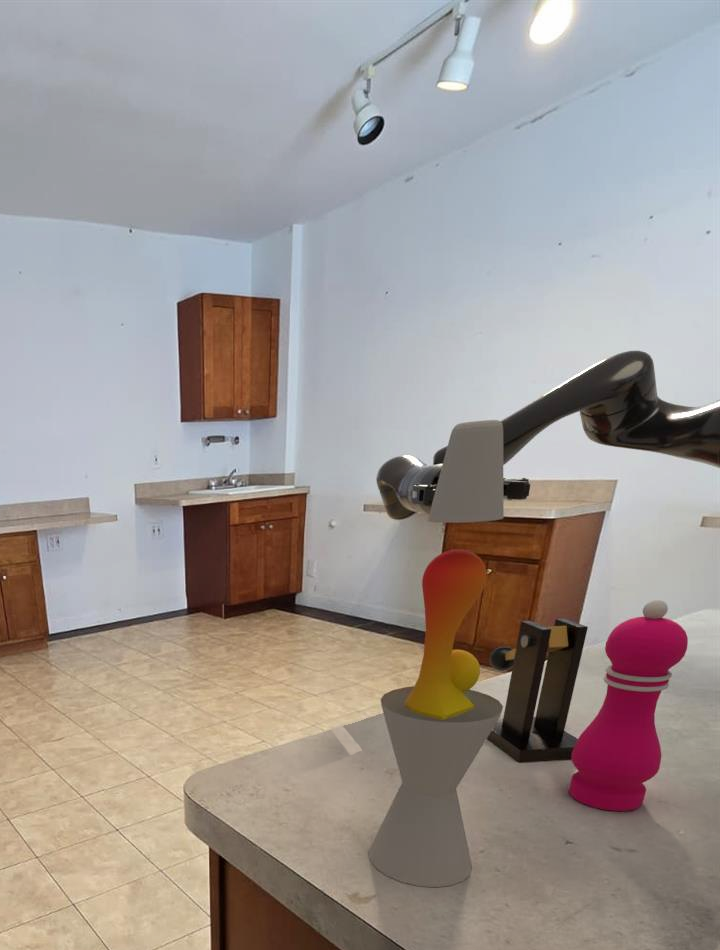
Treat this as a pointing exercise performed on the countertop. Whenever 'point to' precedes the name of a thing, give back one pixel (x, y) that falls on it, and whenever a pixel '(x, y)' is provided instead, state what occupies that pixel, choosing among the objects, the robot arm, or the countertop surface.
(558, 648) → the switch lever
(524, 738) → the switch bracket
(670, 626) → the pepper mill
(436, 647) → the lava lamp
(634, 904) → the countertop surface
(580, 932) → the countertop surface
